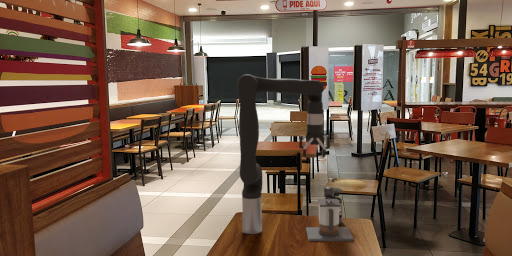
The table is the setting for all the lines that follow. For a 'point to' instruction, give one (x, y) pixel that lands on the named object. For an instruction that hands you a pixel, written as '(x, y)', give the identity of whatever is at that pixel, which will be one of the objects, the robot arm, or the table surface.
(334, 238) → the slate board
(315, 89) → the robot arm
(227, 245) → the table surface
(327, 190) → the plunger
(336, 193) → the french press
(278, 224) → the table surface
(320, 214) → the carafe
